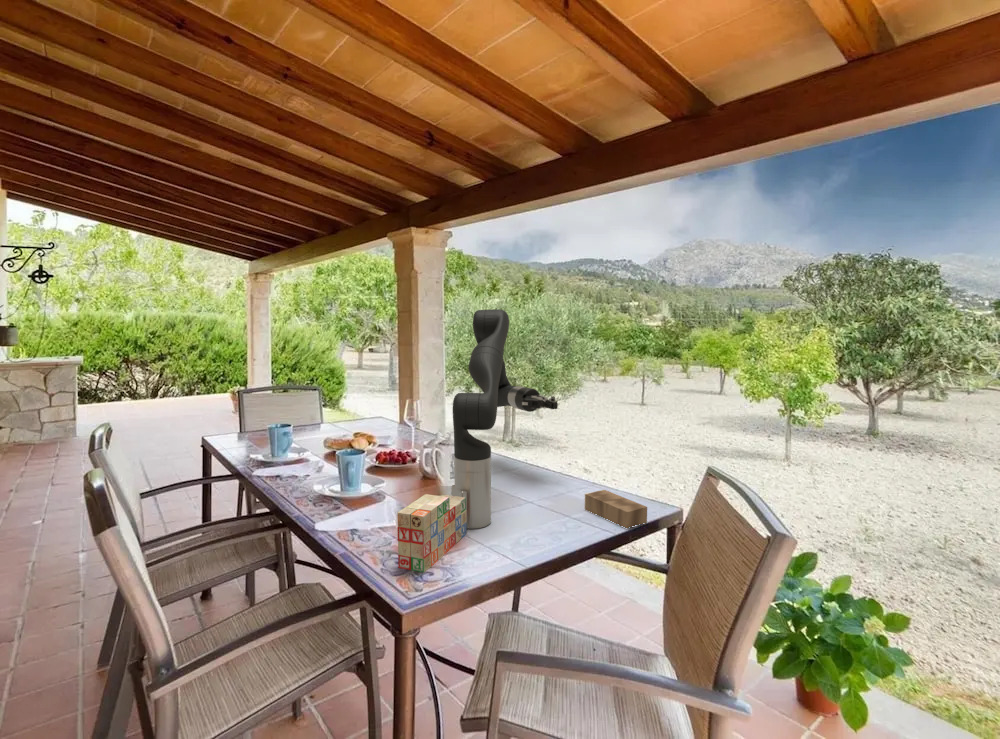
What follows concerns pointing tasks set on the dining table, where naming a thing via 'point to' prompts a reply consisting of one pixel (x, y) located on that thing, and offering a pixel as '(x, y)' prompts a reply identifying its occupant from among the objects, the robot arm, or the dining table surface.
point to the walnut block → (615, 508)
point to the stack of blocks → (429, 530)
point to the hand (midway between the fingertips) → (555, 405)
